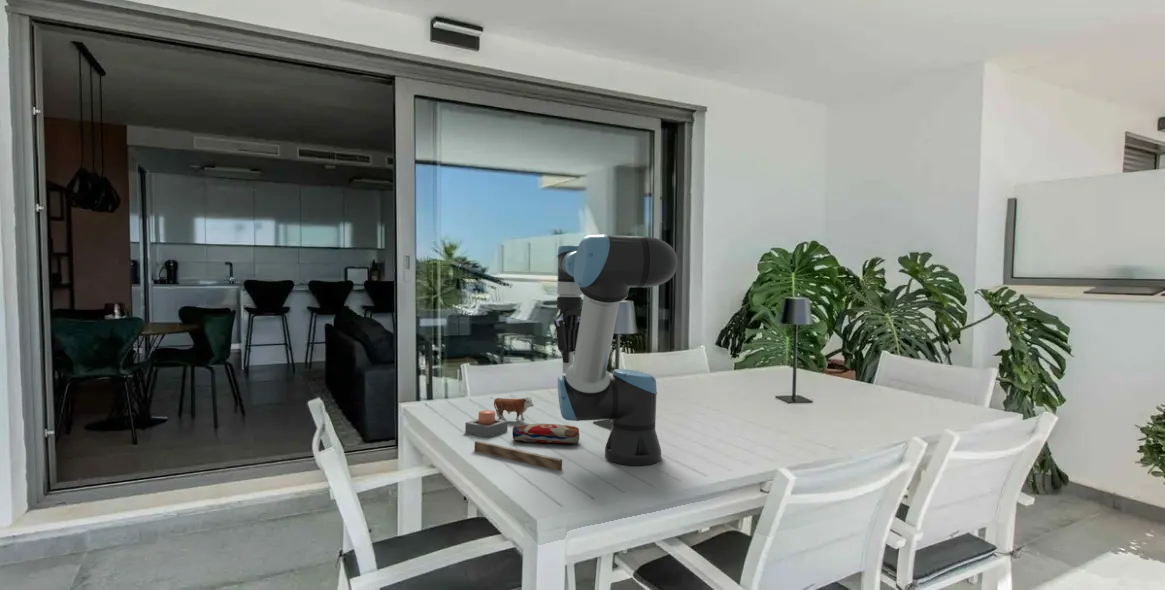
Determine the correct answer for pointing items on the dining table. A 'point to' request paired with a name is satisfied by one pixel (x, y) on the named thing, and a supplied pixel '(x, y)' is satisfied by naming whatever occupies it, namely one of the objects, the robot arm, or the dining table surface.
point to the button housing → (486, 428)
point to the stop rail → (519, 455)
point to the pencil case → (546, 433)
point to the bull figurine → (512, 406)
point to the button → (486, 417)
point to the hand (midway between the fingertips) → (567, 372)
